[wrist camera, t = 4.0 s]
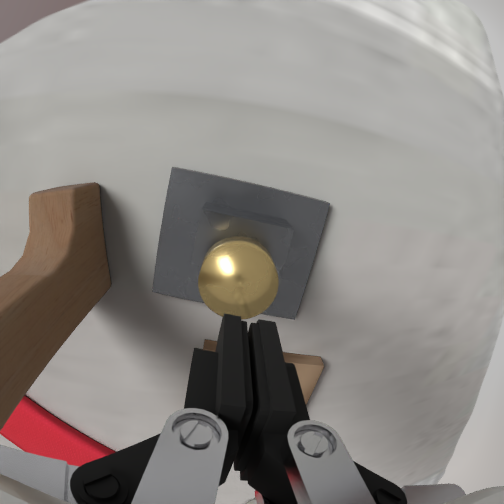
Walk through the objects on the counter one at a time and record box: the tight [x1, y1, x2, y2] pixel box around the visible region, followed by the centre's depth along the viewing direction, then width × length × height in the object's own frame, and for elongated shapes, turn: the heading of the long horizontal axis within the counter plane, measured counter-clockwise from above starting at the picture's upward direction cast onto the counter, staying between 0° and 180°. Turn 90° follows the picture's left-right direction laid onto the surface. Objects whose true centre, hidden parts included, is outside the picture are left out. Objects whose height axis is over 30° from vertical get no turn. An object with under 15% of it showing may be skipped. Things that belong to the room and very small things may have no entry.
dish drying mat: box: [0, 395, 115, 466], centre depth 29 cm, size 16×41×4 cm, turn 53°
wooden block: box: [0, 182, 111, 431], centre depth 14 cm, size 9×4×18 cm, turn 0°
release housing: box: [152, 167, 330, 320], centre depth 22 cm, size 12×10×4 cm
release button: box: [198, 236, 279, 319], centre depth 18 cm, size 4×4×2 cm
